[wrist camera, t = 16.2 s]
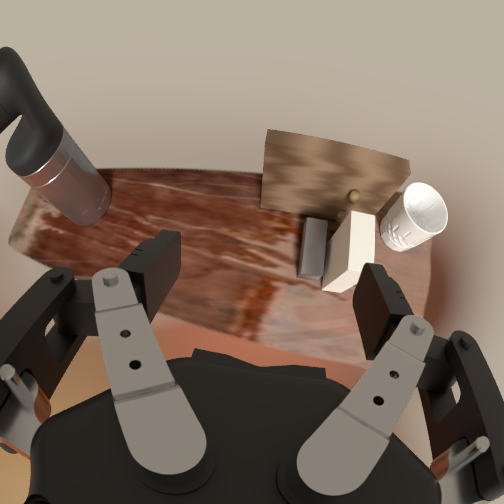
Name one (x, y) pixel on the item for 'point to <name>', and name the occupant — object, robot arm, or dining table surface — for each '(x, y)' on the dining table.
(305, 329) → the dining table surface
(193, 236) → the dining table surface
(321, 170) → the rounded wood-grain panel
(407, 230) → the white cup
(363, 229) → the plain white rectangular block
